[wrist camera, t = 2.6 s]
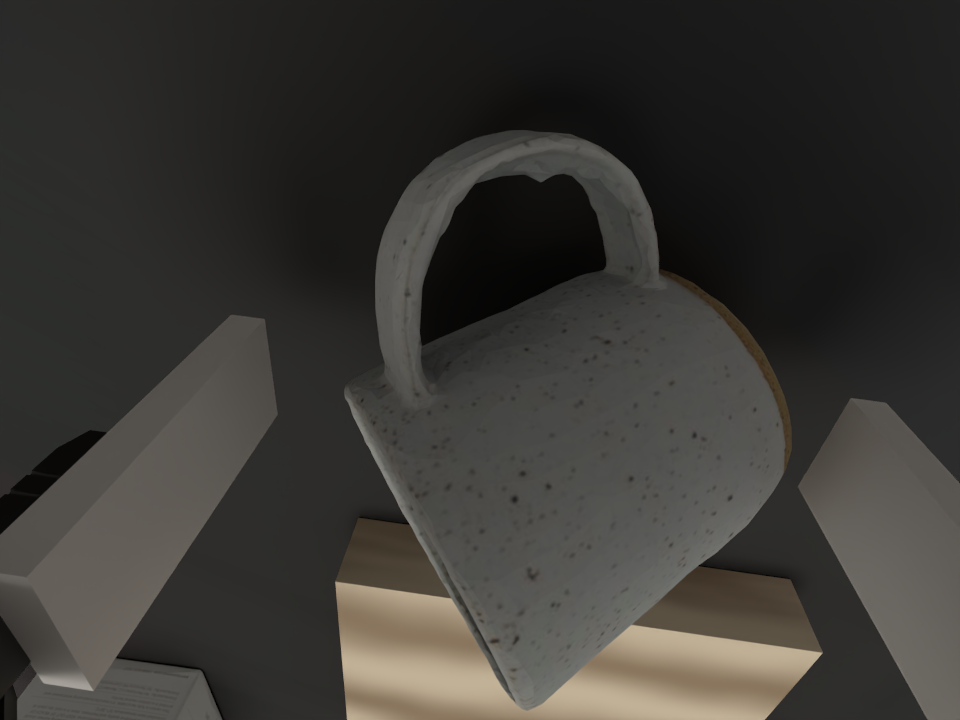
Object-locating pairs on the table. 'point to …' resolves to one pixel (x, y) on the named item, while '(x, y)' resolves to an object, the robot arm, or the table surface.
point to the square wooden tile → (592, 690)
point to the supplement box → (124, 696)
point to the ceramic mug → (564, 423)
